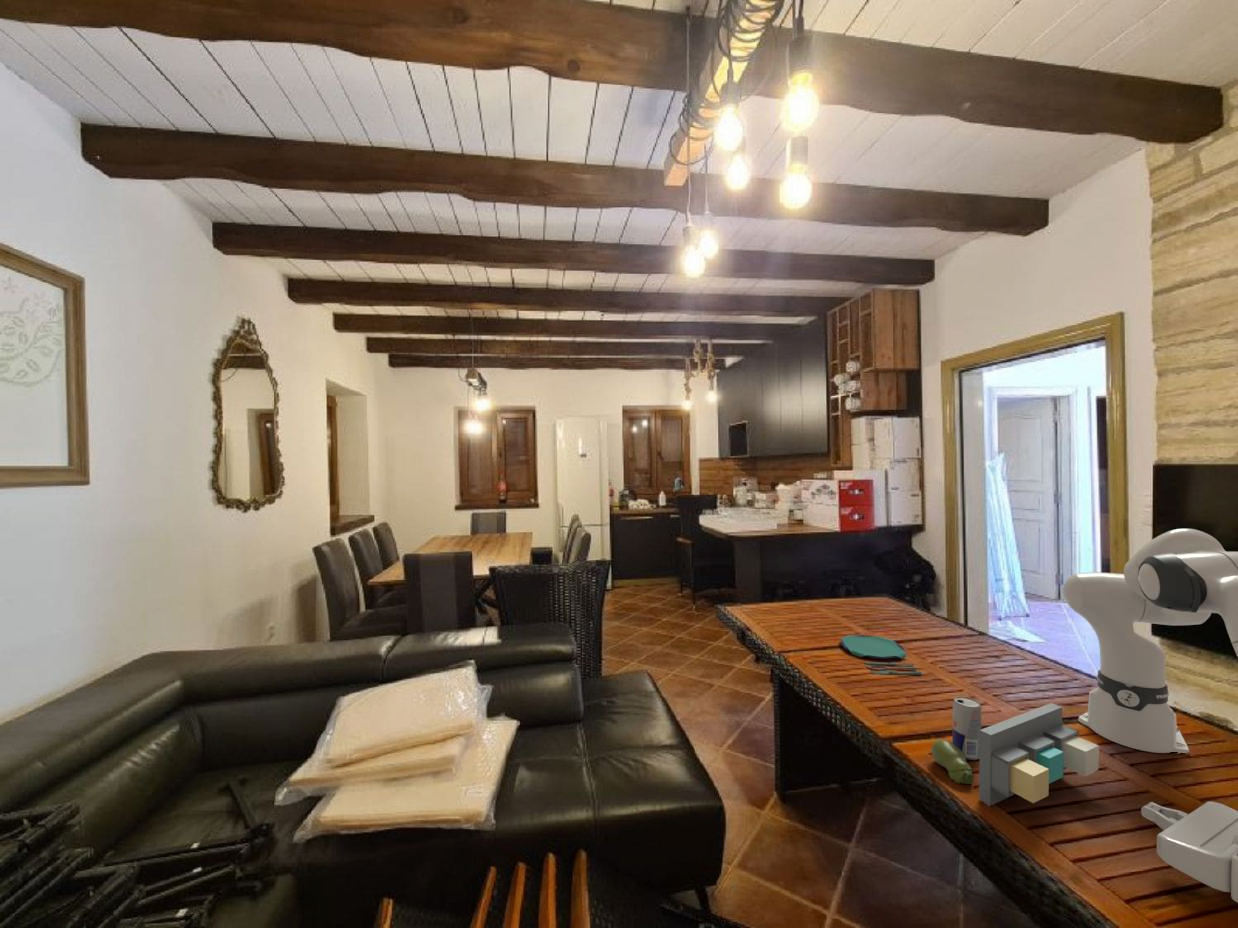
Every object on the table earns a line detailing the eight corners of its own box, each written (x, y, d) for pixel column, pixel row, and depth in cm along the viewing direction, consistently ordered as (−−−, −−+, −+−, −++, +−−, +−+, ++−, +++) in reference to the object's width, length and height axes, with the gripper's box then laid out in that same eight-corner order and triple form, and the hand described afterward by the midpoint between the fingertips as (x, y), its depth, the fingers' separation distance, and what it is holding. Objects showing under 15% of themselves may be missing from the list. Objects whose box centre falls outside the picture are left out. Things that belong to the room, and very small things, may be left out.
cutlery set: (891, 641, 186) (891, 634, 186) (929, 678, 156) (929, 671, 156) (834, 639, 189) (834, 633, 189) (860, 675, 159) (860, 668, 159)
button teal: (1036, 764, 105) (1037, 740, 105) (1063, 776, 101) (1063, 751, 101) (1022, 770, 103) (1022, 746, 103) (1049, 783, 99) (1049, 758, 99)
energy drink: (953, 744, 121) (954, 693, 120) (981, 752, 117) (982, 700, 117) (950, 754, 116) (951, 702, 116) (979, 763, 113) (980, 709, 113)
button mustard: (1021, 781, 100) (1021, 756, 100) (1048, 795, 96) (1048, 768, 96) (1006, 788, 98) (1006, 762, 98) (1033, 803, 94) (1033, 776, 94)
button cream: (1071, 757, 108) (1071, 734, 107) (1098, 769, 103) (1098, 745, 103) (1058, 763, 105) (1058, 739, 105) (1085, 776, 101) (1085, 751, 101)
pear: (952, 734, 115) (983, 769, 105) (949, 755, 116) (980, 791, 106) (927, 734, 115) (956, 769, 105) (924, 755, 116) (952, 791, 106)
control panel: (1050, 766, 112) (1051, 702, 112) (1078, 779, 107) (1079, 713, 107) (979, 799, 101) (979, 729, 101) (1007, 816, 97) (1008, 742, 96)
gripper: (1297, 824, 80) (1173, 774, 93) (1244, 868, 72) (1115, 806, 84) (1296, 864, 80) (1172, 808, 93) (1243, 913, 72) (1115, 844, 84)
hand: (1145, 808), depth 88 cm, fingers closed
